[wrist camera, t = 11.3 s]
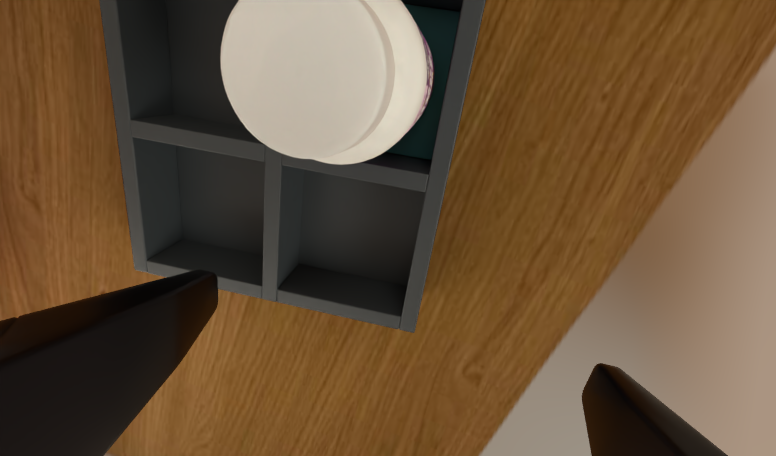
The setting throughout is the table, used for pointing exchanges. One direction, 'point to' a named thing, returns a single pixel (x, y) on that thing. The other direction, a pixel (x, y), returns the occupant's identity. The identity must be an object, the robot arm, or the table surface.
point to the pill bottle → (326, 75)
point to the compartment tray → (276, 170)
